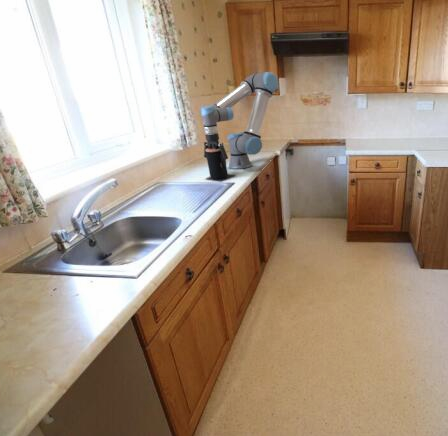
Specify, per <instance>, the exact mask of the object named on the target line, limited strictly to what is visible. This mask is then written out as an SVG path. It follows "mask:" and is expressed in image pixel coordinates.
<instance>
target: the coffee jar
mask: <svg viewBox="0 0 448 436" xmlns="http://www.w3.org/2000/svg"><path fill="white" fill-rule="evenodd" d="M206 152H207V153H206V156H207V158H206V161H207V166H208V171H209V177H211V178H212V179H223V178H226V177H227V174H228V173H229V172H228V167H227V166H226V169H227V170H225V171H223V170H222V164H221V160H222V159H221V158H220V154H222V153H221V151H220V149H217V150H216V149H211V148H210V149H208V148H207V149H206ZM219 152H220V153H219Z"/></svg>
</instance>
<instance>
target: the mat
mask: <svg viewBox="0 0 448 436" xmlns="http://www.w3.org/2000/svg"><path fill="white" fill-rule="evenodd" d="M234 177H236V174H235V175H234V174H227V177H226V178H223V179H212V178H211V177H210V176H209V177H206V180H208V181H215V182H223V181H226V180H229V179H231V178H234Z"/></svg>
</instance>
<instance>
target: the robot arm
mask: <svg viewBox="0 0 448 436" xmlns="http://www.w3.org/2000/svg"><path fill="white" fill-rule="evenodd" d="M278 88H279V79H278V76H277V75H276V74H274V73H273V72H270V71H265V72H255V73H253V74H252V73H251V74H250V75H249V76H247V77H246V78H244V79H243V80H242V81H240V84H239V85H238V86H237V87H236V88H234V89H233V90H231V91H230V92H228V93H227V94H226V95H225V96H223V97H222V98H221V99H219V100H218V101H217V102H215V103H214V104H212V105H205V106H201V108H200V113H201V115H200V116H201V119H202V124H203V130H204V134H205V135H204V136H205V140H206V141H204V142H203V146H204V148H203V158H206V159H207V156H206V153H207V152H206V149H207V148H208V149H210V148H211V149H216V150H217V149H220V151H221V153H222V154H220V158H221V159H222V160H221V164H222V170H223V171H225V170H227V171H228V168H227V169H226V167H227V160H228V159H229V164H228V166H229V168H230V169H233V170H241V169H247V168H250V167H252V162H251V161H250V158H249V155H253V156H254V155H257V154H259V153H260V152H261V150H262V148H263V142H262V141H263V140H261V138H262V135H261V129H262V125H263V122H264V118H265V115H266V111H267V107H268V103H269V99H270V98H272V97H273V95H274V94H273V93H274V92H276V91H277V90H278ZM254 93H255V97H254V101H253V103H252V104H253V105H252V108H251V112H250V115H249V120H248V124H247V127H246V129H245V130H243V132H236V133H235V132H234V133H231V134H228V135H227V143H228V149H229V153H230V154H229V157H230V158H229V157H228V154H227V152H226V149H225V146H224V142H219V140H220V136H219V129H218V123H222V122H227V121H232V120H234V118H235V117H234V116H235V114H234V111H233V108H232V107H234V106H235V105H237V104H238V103H240V101H242V100H243V99H244V98H246V97H247V96H251V95H252V94H254ZM219 153H220V152H219Z"/></svg>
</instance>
